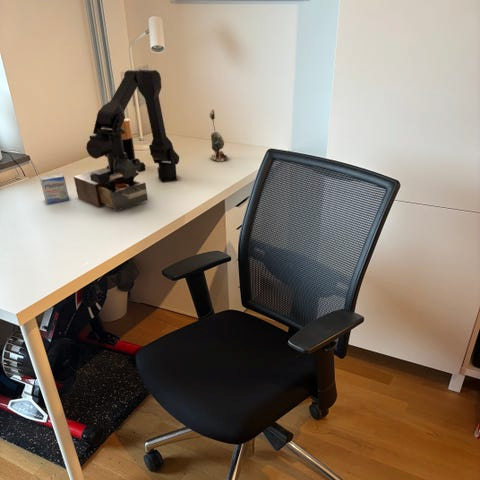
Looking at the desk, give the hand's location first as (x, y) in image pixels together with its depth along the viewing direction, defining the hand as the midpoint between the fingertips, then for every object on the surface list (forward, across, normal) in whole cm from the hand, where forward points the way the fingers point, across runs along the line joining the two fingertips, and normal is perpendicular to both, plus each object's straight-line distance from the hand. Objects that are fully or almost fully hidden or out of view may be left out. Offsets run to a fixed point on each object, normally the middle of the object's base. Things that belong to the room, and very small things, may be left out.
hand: (122, 196), depth 174 cm
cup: (+1, 0, 0) cm, 1 cm away
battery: (+3, +25, +32) cm, 41 cm away
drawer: (+2, 0, -1) cm, 2 cm away
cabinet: (+3, 0, +11) cm, 11 cm away
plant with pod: (+3, +59, +13) cm, 60 cm away
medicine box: (+3, -13, +22) cm, 26 cm away
